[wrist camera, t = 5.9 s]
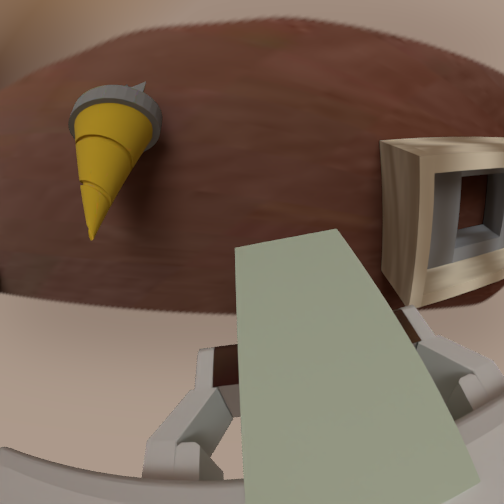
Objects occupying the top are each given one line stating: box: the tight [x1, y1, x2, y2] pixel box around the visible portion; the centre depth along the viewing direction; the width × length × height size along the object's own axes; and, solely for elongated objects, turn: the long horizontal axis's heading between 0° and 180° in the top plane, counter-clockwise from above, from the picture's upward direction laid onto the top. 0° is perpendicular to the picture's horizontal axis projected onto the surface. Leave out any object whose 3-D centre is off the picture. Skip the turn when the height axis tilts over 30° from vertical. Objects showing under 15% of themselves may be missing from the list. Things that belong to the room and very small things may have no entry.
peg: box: [235, 229, 481, 504], centre depth 8 cm, size 4×4×10 cm
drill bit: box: [69, 82, 162, 240], centre depth 14 cm, size 5×5×10 cm
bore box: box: [379, 137, 504, 308], centre depth 17 cm, size 16×10×5 cm, turn 101°
